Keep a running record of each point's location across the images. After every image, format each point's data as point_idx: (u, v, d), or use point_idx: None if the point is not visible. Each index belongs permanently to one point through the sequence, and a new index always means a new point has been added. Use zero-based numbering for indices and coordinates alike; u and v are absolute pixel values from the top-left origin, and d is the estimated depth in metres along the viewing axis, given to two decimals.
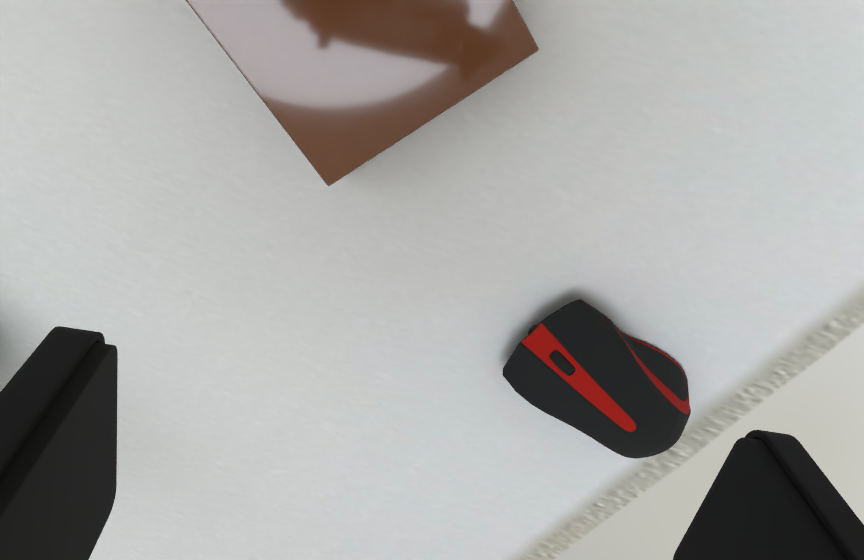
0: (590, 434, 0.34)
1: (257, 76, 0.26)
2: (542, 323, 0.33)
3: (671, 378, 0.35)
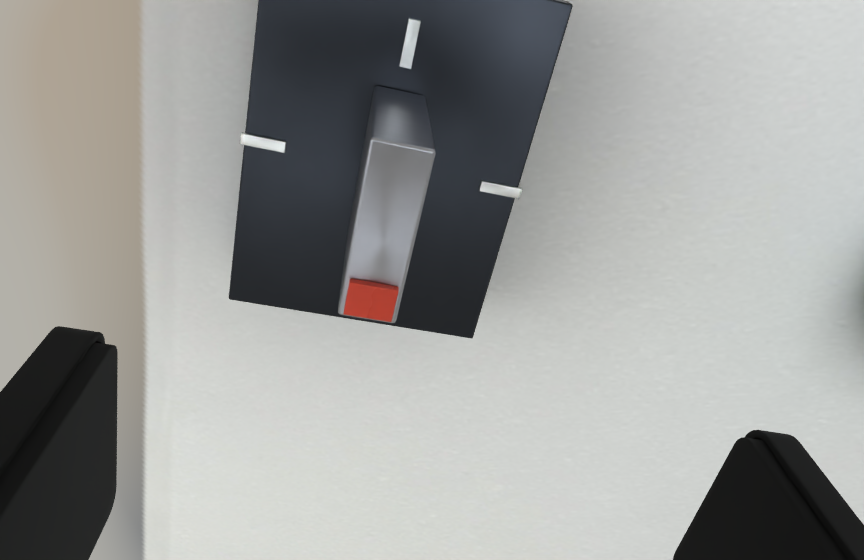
0: None
1: None
2: None
3: None
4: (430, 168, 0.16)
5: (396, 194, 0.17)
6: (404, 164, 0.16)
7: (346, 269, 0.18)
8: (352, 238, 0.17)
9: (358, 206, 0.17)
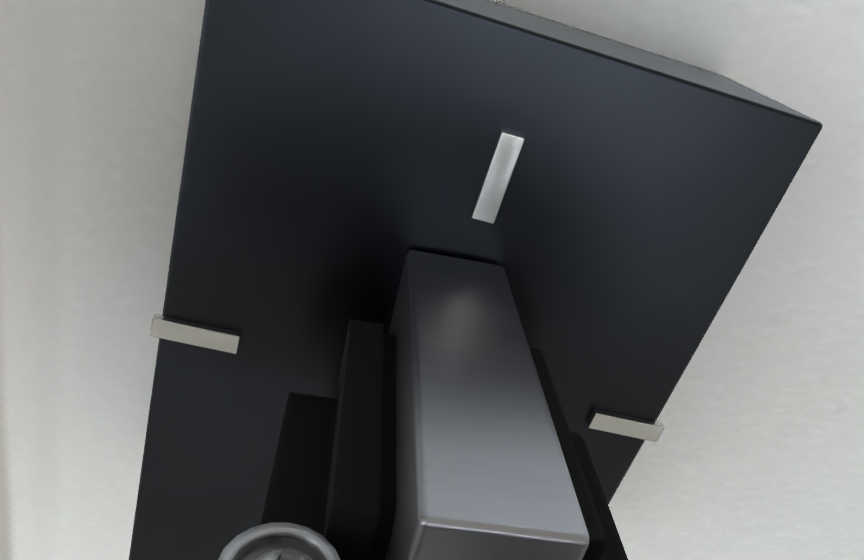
0: None
1: None
2: None
3: None
4: None
5: None
6: None
7: None
8: None
9: None
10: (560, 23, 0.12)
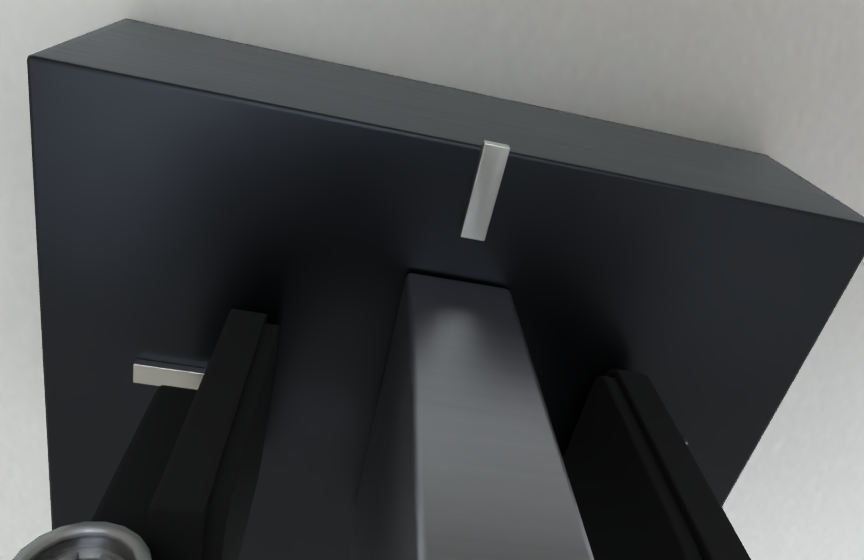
0: None
1: None
2: None
3: None
4: None
5: None
6: None
7: None
8: None
9: None
10: None
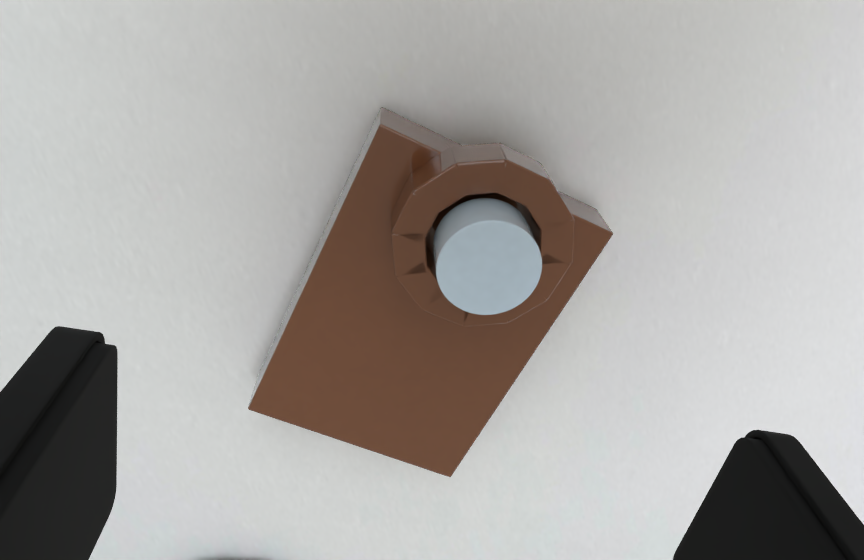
0: None
1: (299, 323, 0.28)
2: None
3: None
4: None
5: None
6: None
7: None
8: None
9: None
10: None
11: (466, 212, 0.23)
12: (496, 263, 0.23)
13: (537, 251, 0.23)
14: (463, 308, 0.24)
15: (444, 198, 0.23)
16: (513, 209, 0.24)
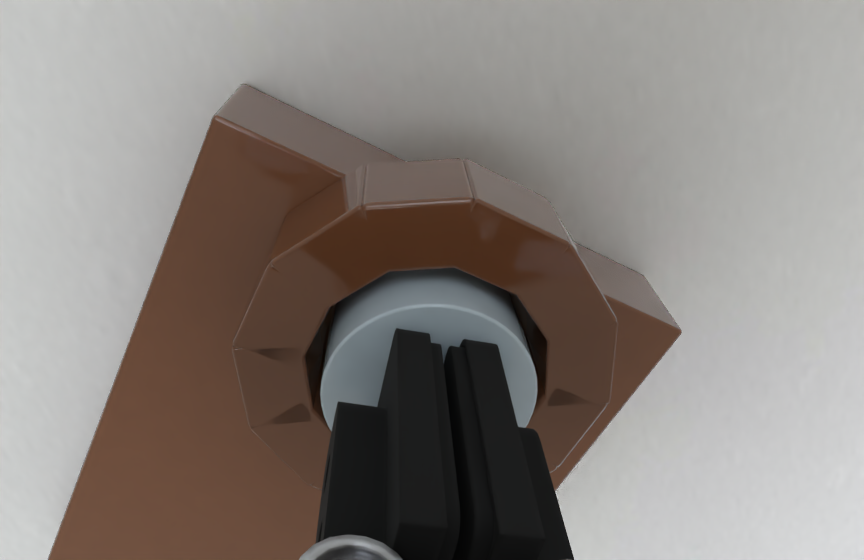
0: None
1: (99, 480, 0.15)
2: None
3: None
4: None
5: None
6: None
7: None
8: None
9: None
10: None
11: (387, 279, 0.11)
12: None
13: (528, 365, 0.11)
14: None
15: (340, 278, 0.11)
16: None
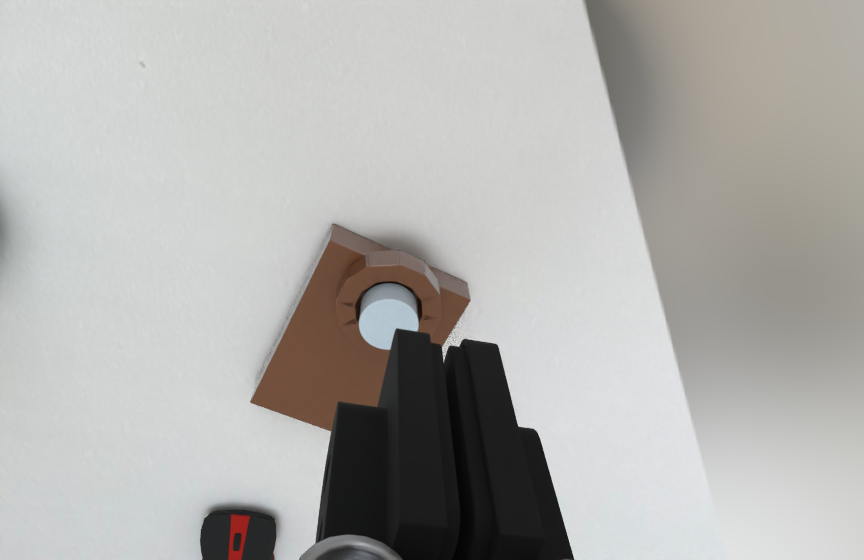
0: None
1: (282, 350, 0.46)
2: (249, 517, 0.54)
3: None
4: None
5: None
6: None
7: None
8: None
9: None
10: None
11: (377, 292, 0.41)
12: (392, 321, 0.41)
13: (415, 315, 0.41)
14: (375, 346, 0.42)
15: (365, 283, 0.41)
16: (404, 290, 0.42)
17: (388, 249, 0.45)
